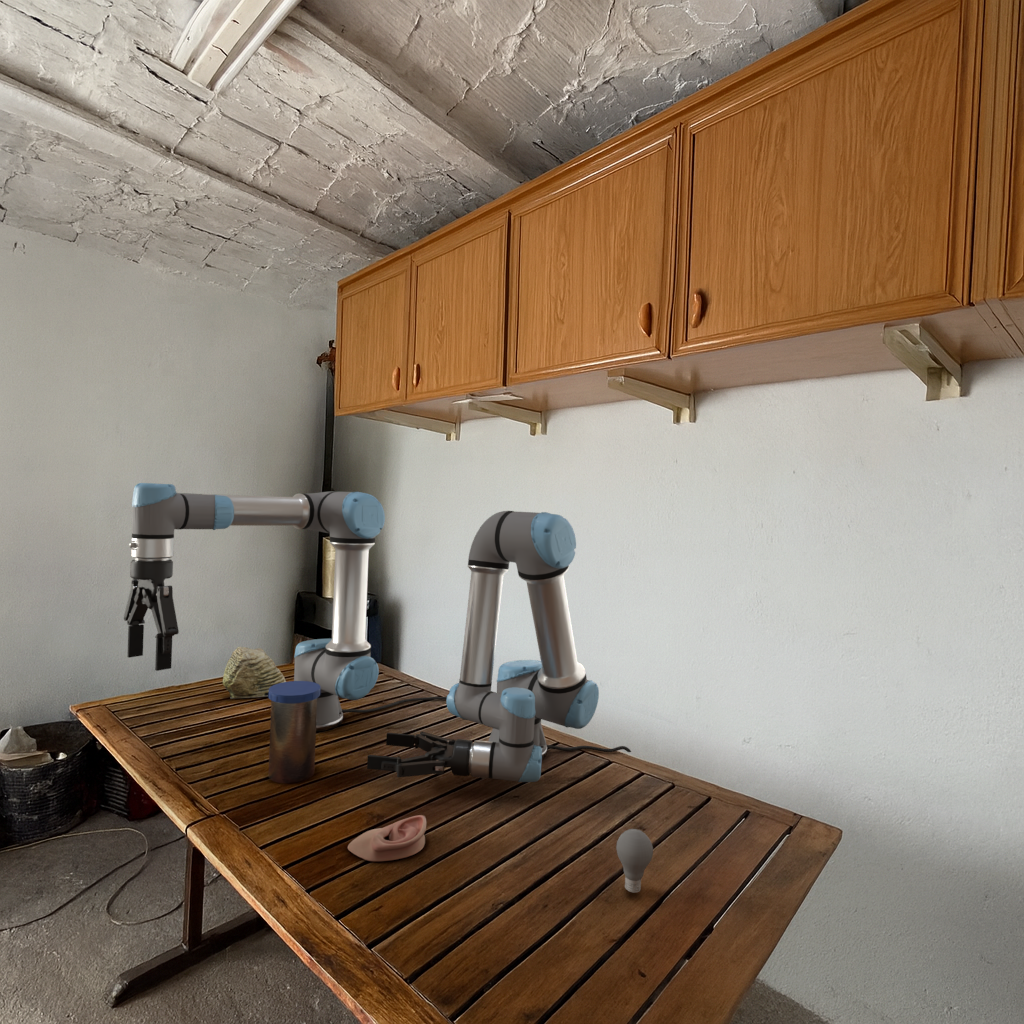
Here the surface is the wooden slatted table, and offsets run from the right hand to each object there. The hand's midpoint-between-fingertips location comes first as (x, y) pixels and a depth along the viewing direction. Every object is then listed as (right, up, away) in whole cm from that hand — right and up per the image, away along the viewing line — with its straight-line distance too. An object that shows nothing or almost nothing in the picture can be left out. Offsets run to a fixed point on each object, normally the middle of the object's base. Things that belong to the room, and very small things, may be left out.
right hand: (377, 749), depth 141 cm
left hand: (-44, +22, -12) cm, 51 cm away
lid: (-19, +13, +2) cm, 23 cm away
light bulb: (+50, -10, -36) cm, 62 cm away
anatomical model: (+7, -8, -25) cm, 28 cm away
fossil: (-51, -4, +57) cm, 76 cm away
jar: (-20, -6, +3) cm, 21 cm away
